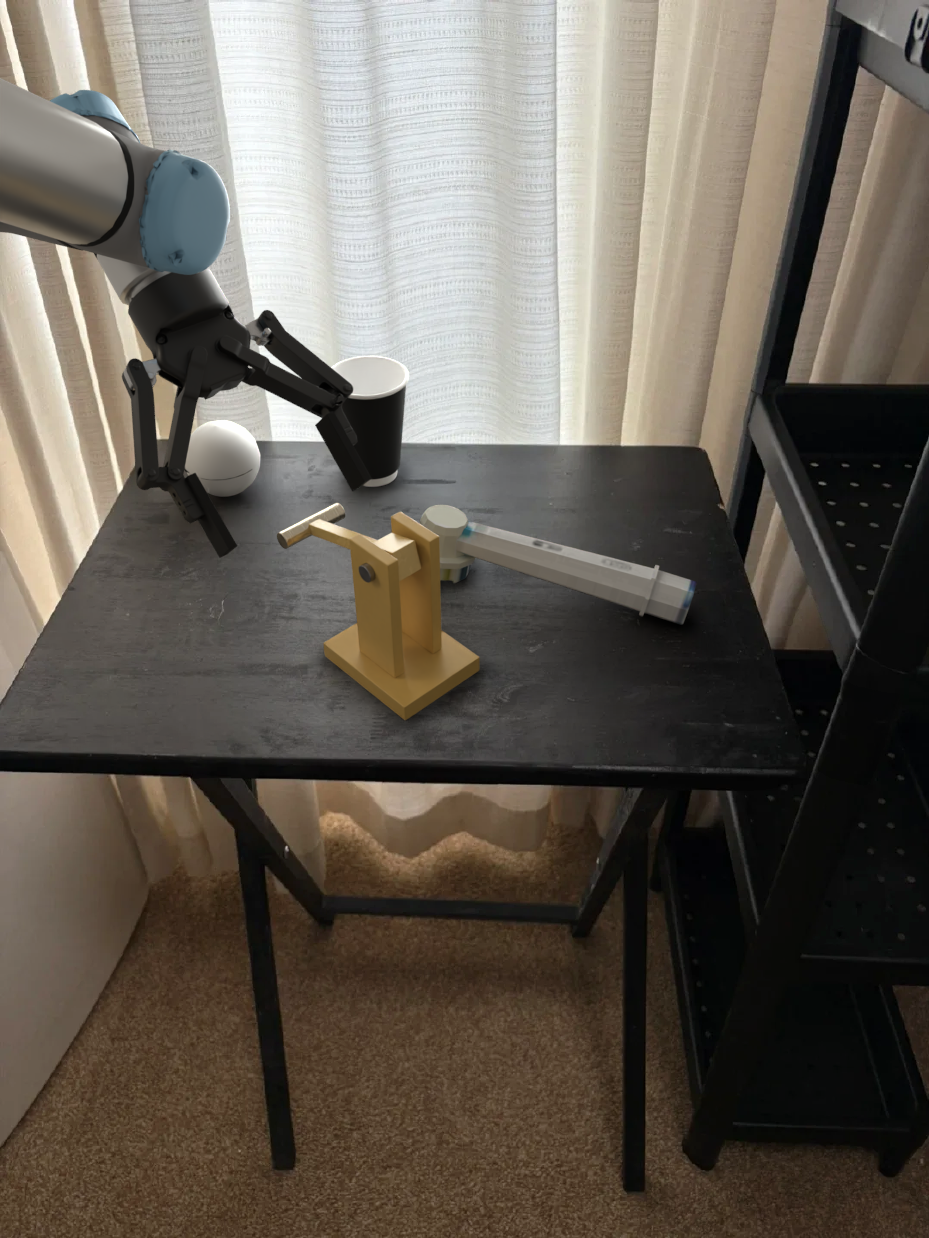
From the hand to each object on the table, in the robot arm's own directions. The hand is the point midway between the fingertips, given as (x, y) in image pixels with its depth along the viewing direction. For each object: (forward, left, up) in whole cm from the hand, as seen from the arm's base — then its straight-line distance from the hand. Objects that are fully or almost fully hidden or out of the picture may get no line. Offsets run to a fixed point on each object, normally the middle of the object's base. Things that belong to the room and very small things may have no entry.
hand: (298, 517), depth 86 cm
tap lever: (+7, -2, 0) cm, 8 cm away
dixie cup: (-5, +19, -8) cm, 21 cm away
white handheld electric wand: (+18, +10, -8) cm, 22 cm away
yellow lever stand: (+12, -4, -8) cm, 15 cm away
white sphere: (-16, +8, -8) cm, 20 cm away
